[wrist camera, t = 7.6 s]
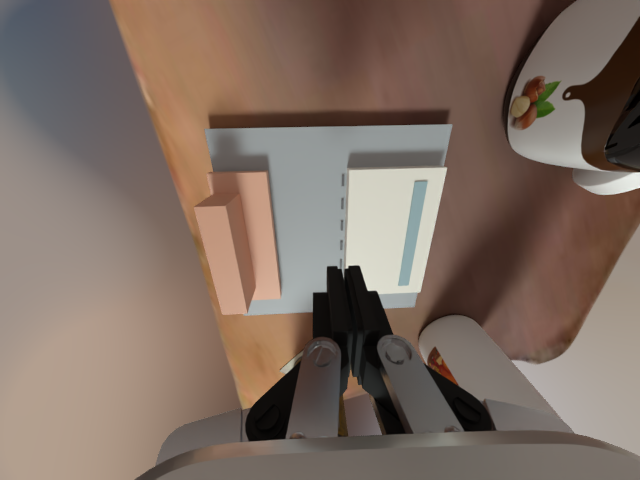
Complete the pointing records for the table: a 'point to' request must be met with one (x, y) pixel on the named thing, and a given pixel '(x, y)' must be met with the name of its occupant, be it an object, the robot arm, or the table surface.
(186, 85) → the table surface
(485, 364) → the milk bottle
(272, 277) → the stub
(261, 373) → the table surface
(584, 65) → the spread jar
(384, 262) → the board
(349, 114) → the table surface
